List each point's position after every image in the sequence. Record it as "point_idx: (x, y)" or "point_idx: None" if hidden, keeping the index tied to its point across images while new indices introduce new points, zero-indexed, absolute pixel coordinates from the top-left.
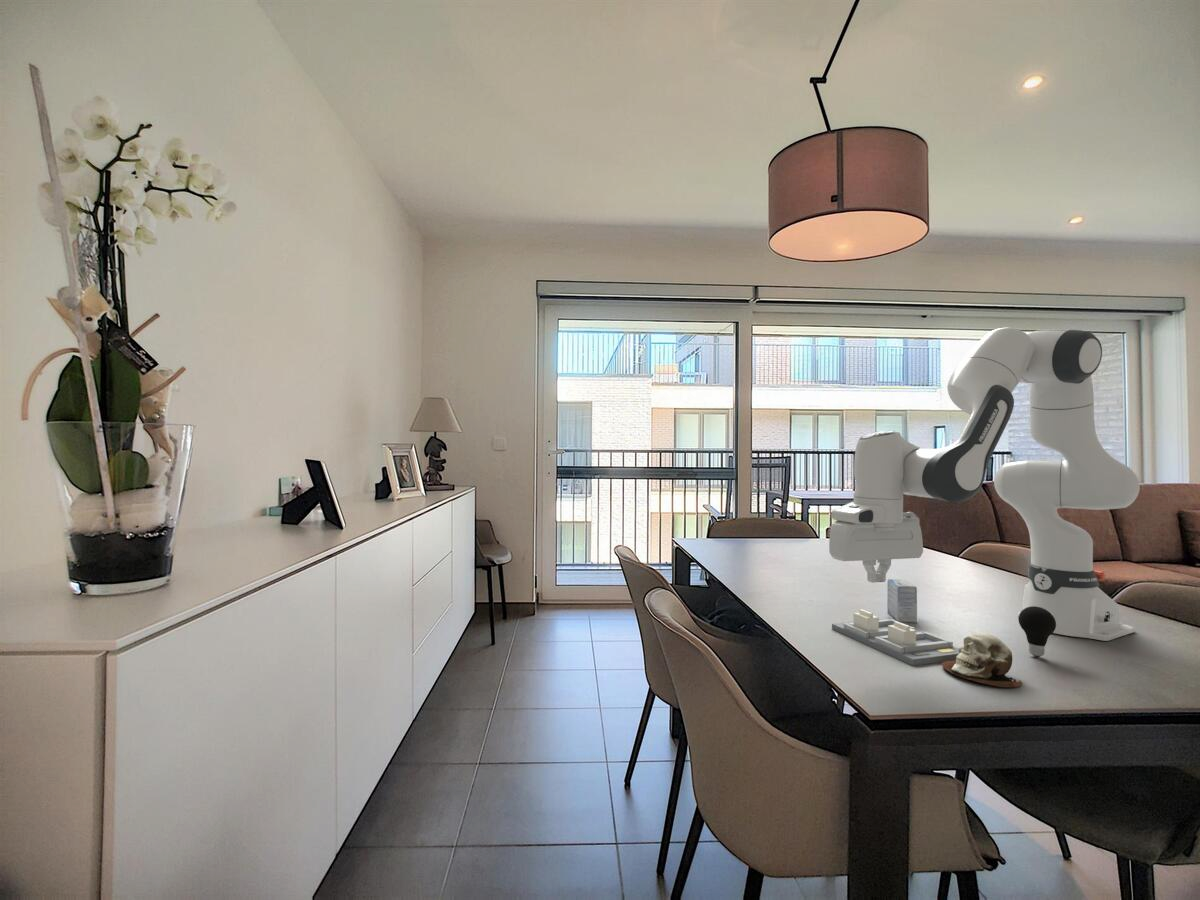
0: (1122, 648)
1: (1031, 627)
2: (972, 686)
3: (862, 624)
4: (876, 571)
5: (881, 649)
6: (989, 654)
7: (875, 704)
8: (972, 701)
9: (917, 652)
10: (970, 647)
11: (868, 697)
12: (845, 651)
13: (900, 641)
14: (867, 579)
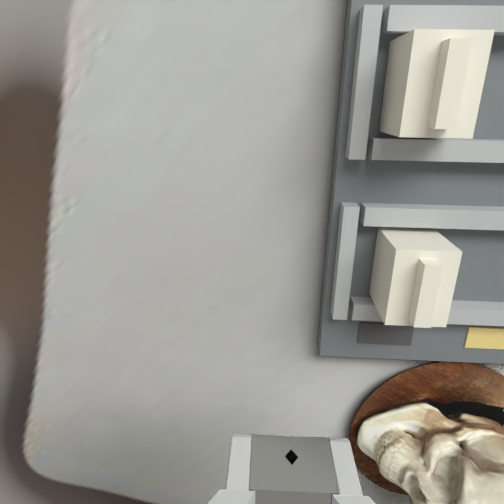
0: None
1: None
2: None
3: (392, 103)
4: (333, 495)
5: (328, 236)
6: None
7: (56, 456)
8: None
9: (384, 326)
10: (419, 501)
11: (61, 433)
12: (206, 197)
13: (376, 289)
14: (232, 435)
